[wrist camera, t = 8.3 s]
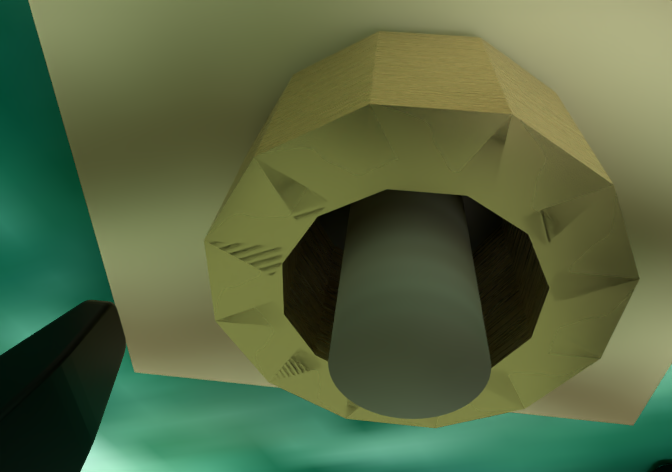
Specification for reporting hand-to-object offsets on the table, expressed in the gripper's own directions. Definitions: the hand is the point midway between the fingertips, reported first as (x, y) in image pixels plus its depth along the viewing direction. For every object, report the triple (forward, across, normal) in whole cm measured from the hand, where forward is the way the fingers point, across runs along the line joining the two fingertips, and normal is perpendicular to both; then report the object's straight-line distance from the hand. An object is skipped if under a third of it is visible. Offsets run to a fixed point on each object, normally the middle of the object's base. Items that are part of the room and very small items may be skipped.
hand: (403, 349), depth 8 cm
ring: (+5, 0, 0) cm, 5 cm away
